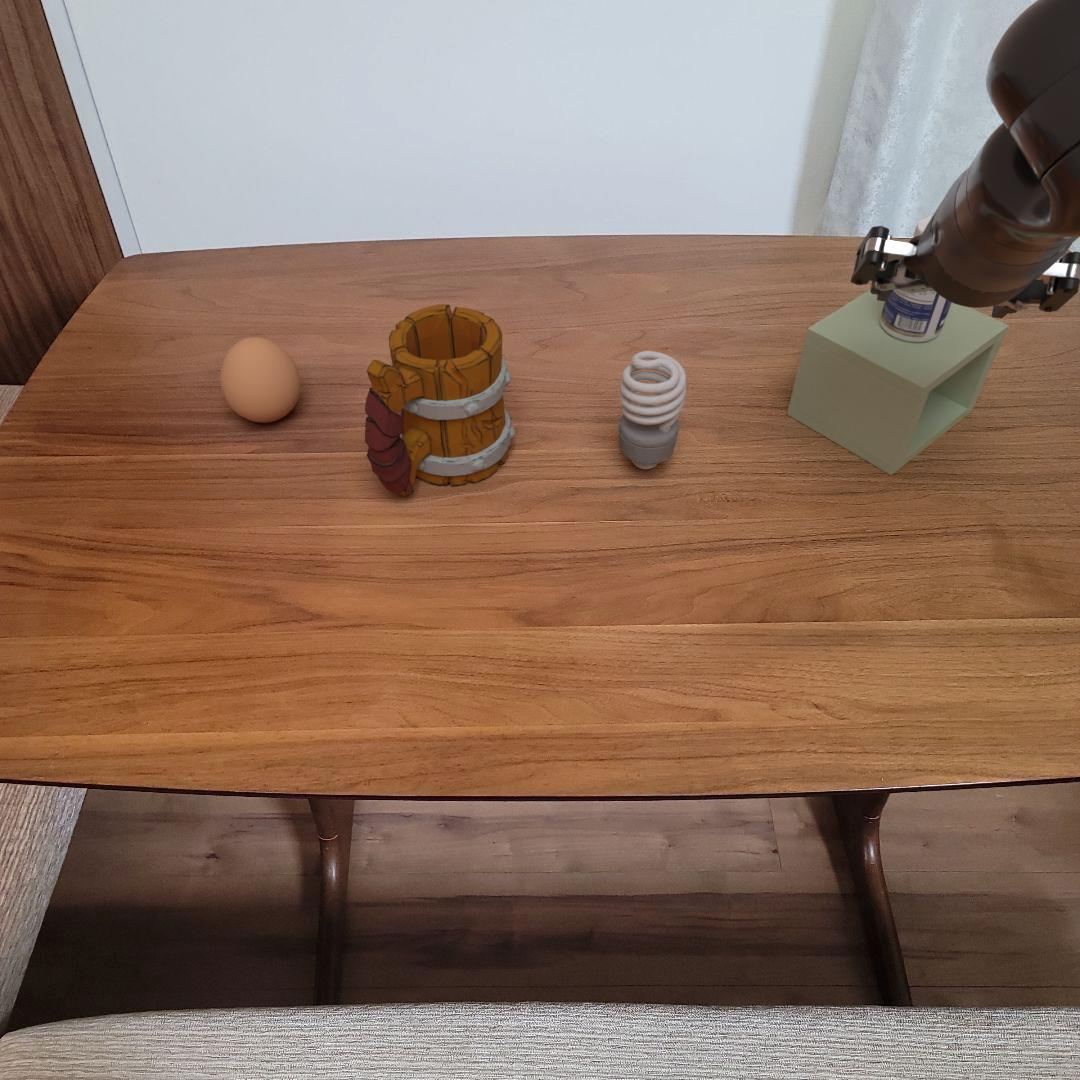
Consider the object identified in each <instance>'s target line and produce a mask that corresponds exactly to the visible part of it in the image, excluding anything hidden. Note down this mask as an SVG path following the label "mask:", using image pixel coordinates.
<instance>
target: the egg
mask: <svg viewBox="0 0 1080 1080" xmlns="http://www.w3.org/2000/svg"><path fill="white" fill-rule="evenodd" d="M219 374H220V375H219V385H220V389H221V392H222V396H223V398H224V400H225V402H226V404H227V405H228V407H230V409H231V410H232V411H233V412H234V413H236V414H237V415H238V416H240V417H242V418H244V419H245V420H247V421H251V422H255V423H265V424H266V423H272V422H275V421H278V420H281V419H282V418H285V417H286V416H287V415H288V414H289V413H290V412H291V411H292V410H293V409H294V407H295V406H296V405H297V403H298V401H299V398H300V395H301V390H302V382H301V376H300V372H299V369H298V367H297V363H296V362H295V360H294V358H293V357H292V356H291V355H290V354H289V353H288V351H286V350H285V348H283V347H282V346H280V345H279V344H278V343H276V342H274V341H273V340H270V339H268V338H266V337H261V336H260V337H259V336H250V337H246V338H243V339H240V340H238V341H237V342H236V343H234V345H232V346H231V347H230V348H229V349H228V351H227V352H226V355H225V356H224V358H223V361H222V364H221V368H220V372H219Z"/></svg>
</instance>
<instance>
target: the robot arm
mask: <svg viewBox="0 0 1080 1080" xmlns="http://www.w3.org/2000/svg"><path fill="white" fill-rule="evenodd" d="M985 88H986V92H987V94H988V98H989V99H990V102H991V104H992V106H993V107H994V109H995V110H996V112H997V115H998V116H999V118H1000V119H1001V121H1002V122H1001V124H999V126H997V127H996V128H995V129H994V130H993V132H992V133H991V134H990V135H989V136H988V137H987V139H986V140H985V142H984V143H983V145H982V146H981V147H980V149H979V150H978V152H977V154H976V155H975V157H974V158H973V160H972V161H971V163H970V165H969V166H968V167H967V168H966V169H965V170H964V171H963V172H962V173H961V174H960V175H959V176H958V177H957V178H956V180H955V181H953V183H952V185H951V186H950V188H949V190H947V193H946V194H945V196H944V197H943V199H942V201H941V202H940V204H939V205H938V206H937V208H936V210H935V211H934V213H933V214H932V215H931V216H932V218H931V220H930V221H929V223H928V224H927V226H926V228H925V230H924V231H923V233H922V234H921V235H918V236H915V237H914V236H913V237H911V239H909V240H908V241H899V240H893V235H892V234H890V229H889V228H888V227H886V226H883V225H878V226H877V225H875V226H872V227H871V228H870V229H869V231H868V232H867V234H866V235H865V236H864V238H863V240H862V241H861V243H860V244H859V246H858V247H857V250H856V255H855V256H856V258H855V262H854V266H853V267H854V268H853V271H852V274H851V277H850V283H851V284H854V285H856V286H863V285H865V286H866V285H867V284H868V283H869V282H870V281H871V286H870V289H871V290H870V289H869V290H870V292H871V293H872V294H876V295H877V300H878V301H885V302H886V301H887V299H888V298H889V296H890V295H891V293H892V292H893V289H899V290H902V291H904V292H907V293H910V294H911V293H918V292H925V291H931V290H934V291H936V292H937V293H938V294H939V295H940V296H942V297H943V298H944V299H946V300H948V301H950V302H952V303H954V304H957V305H961V306H965V307H970V308H972V309H974V308H975V309H976V308H977V309H981V308H989V307H992V311H991V317H992V318H994V319H1003V318H1004V317H1006V316H1007V315H1009V314H1010V315H1013V314H1015V313H1017V312H1018V311H1025V310H1028V309H1029V306H1030V305H1039V307H1038V310H1039V311H1042V312H1044V313H1052V312H1053V313H1054V312H1057V311H1059V310H1060V309H1061V308H1062V307H1064V305H1065V304H1066V303H1068V301H1070V300H1071V299H1072V298H1073V297H1075V296H1076V295H1077V294H1078V293H1079V290H1080V289H1079V288H1080V251H1071V252H1067V251H1068V250H1069V249H1070V248H1071V246H1072V245H1073V243H1074V242H1075V241H1077V240H1078V239H1079V238H1080V0H1036V1H1034V2H1033V3H1032V4H1031V5H1029V6H1028V7H1027V8H1025V10H1024V11H1023V12H1021V13H1020V14H1019V15H1018V16H1017V17H1016V18H1015V19H1014V21H1012V23H1011V24H1010V25H1009V27H1008V28H1007V29H1006V30H1005V32H1004V33H1003V35H1002V36H1001V37H1000V39H999V41H998V43H997V44H996V46H995V47H994V50H993V51H992V55H991V56H990V60H989V62H988V65H987V69H986V75H985ZM899 263H900V265H899ZM898 266H899V270H898ZM897 270H898V273H897ZM917 276H919V277H920V278H922V279H917Z"/></svg>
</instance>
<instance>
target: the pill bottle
mask: <svg viewBox="0 0 1080 1080" xmlns="http://www.w3.org/2000/svg"><path fill="white" fill-rule="evenodd" d="M932 216H933V215H930V216H926V217H923V218H921V219H919V221H918V222H917V224H916V227H915V230H914V233H913V237H915V236H918V235H921V234H922V233H923V231H924V230H925V228H926V226H927V224H928V223H929V221H930V220H931V218H932ZM899 265H900V263H899ZM898 270H899V266H898ZM898 270H897V273H898ZM917 279H922V278H920V277H919V276H917ZM951 303H952V302H950V301H948V300H946V299H944V298H943V297H942V296H940V295H939V294H938V293H937V292H936V291H934V290H931V291H925V292H918V293H911V294H910V293H907V292H904V291H902V290H899V289H893V292H892V293H891V295H890V296H889V298H888V299H887V301H886V302H885V304H884V307H883V311H882V314H881V319H880V322H881V326H882V327H883V329H884V330H885V331H886V332H887V333H889V334H890V335H892V336H893V337H895V338H898V339H900V340H904V341H908V342H925V341H929V340H932V339H934V338H935V337H937V336H938V335H939V334H940V332H941V330H942V328H943V325H944V322H945V320H946V317H947V314H948V311H949V308H950V305H951Z"/></svg>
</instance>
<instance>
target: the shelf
mask: <svg viewBox="0 0 1080 1080" xmlns="http://www.w3.org/2000/svg"><path fill="white" fill-rule="evenodd" d="M870 290H871V288H870V289H869V290H866V291H865V292H863V293H862V294H861V295H858V296H857V297H856V298H854V299H852V300H851V301H849V302H848V303H846V304H845V305H843V306H841V307H839V308H838V309H836V310H835V311H833V312H831V313H830V314H828V315H827V316H825V317H824V318H822V319H820V320H818V321H817V322H815V323H813V324H812V325H811V326H809V327H808V328H807V330H806V334H805V339H804V341H803V346H802V347H803V348H802V351H801V355H800V359H799V364H798V367H797V370H796V375H795V380H794V384H793V388H792V392H791V396H790V401H789V404H788V407H787V413H786V416H789V417H791V418H793V419H794V420H796V421H798V423H801V424H802V425H804V426H806V427H807V428H810V429H811V430H813V431H815V432H816V433H818V434H820V435H821V436H823V437H825V438H827V440H830V441H831V442H834V444H837V445H839V446H840V447H842V448H844V449H845V450H847V451H849V452H850V453H852V454H853V455H856V456H857V457H858V458H861V459H862V460H864V461H866V462H867V463H869V464H870V465H873V466H874V467H876V468H878V469H879V470H880V471H883V472H885V473H887V474H888V475H890V476H892V475H894V474H895V473H897V472H898V471H899V470H900V469H902V468H903V467H904V466H905V465H906V464H908V463H909V462H910V461H912V460H913V459H914V458H915V457H917V456H918V455H919V454H921V453H922V452H923V451H924V450H926V449H927V448H928V447H930V446H931V445H932V444H933V443H935V442H936V441H937V440H938V439H939V438H941V437H942V436H943V435H944V434H946V433H947V432H948V431H950V430H951V429H952V428H954V427H955V426H956V425H957V424H958V423H960V422H961V421H962V420H964V419H965V418H966V417H967V416H969V415H970V414H971V413H973V411H974V409H975V406H976V404H977V401H978V400H979V397H980V395H981V393H982V389H983V387H984V385H985V383H986V380H987V378H988V375H989V374H990V371H991V369H992V366H993V364H994V362H995V359H996V357H997V355H998V352H999V350H1000V347H1001V345H1002V343H1003V341H1004V338H1005V335H1006V334H1007V331H1008V329H1009V324H1008V323H1005V322H1003V321H1001V320H998V319H997V318H995V317H992V316H989V315H987V314H985V313H983V312H981V311H979V310H976V309H974V308H972V307H965V306H961V305H957V304H954V303H951V305H950V308H949V311H948V314H947V317H946V320H945V322H944V325H943V328H942V330H941V332H940V334H939V335H938V336H937V337H935V338H934V339H932V340H929V341H925V342H908V341H904V340H900V339H898V338H895V337H893V336H892V335H890V334H889V333H887V332H886V331H885V330H884V329H883V327H882V326H881V322H880V319H881V314H882V311H883V307H884V304H885V301H878V300H877V295H876V294H872V293H871V292H870Z"/></svg>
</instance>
